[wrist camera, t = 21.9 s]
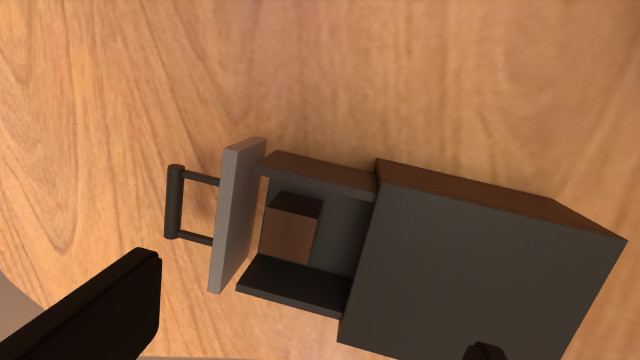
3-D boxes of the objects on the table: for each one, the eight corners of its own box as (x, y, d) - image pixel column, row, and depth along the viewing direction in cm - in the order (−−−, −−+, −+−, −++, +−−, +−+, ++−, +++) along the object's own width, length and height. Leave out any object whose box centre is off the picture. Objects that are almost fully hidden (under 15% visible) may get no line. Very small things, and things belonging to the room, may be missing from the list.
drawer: (189, 241, 34) (148, 275, 28) (200, 123, 30) (154, 131, 24) (373, 290, 32) (376, 339, 26) (410, 173, 28) (423, 196, 22)
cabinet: (343, 282, 34) (336, 342, 25) (377, 157, 29) (381, 181, 21) (493, 322, 32) (537, 400, 24) (552, 198, 28) (629, 240, 20)
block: (273, 230, 31) (258, 252, 27) (280, 190, 30) (265, 206, 25) (315, 242, 31) (307, 265, 26) (324, 201, 29) (317, 219, 25)
